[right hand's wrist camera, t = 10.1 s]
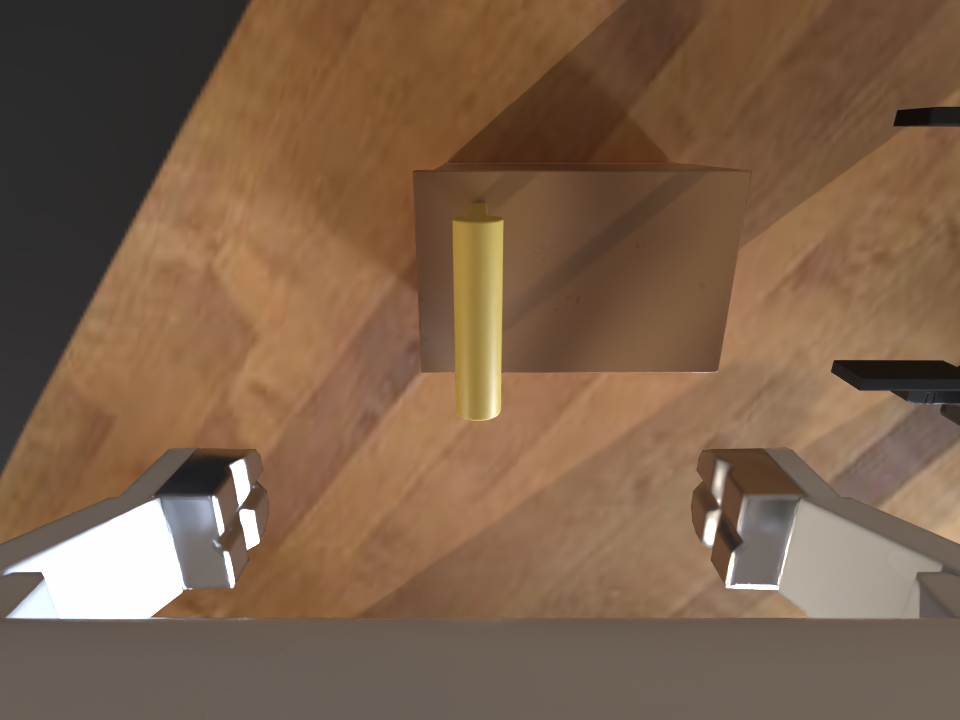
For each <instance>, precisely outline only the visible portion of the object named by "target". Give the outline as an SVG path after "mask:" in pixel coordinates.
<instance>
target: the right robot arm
mask: <svg viewBox="0 0 960 720" xmlns="http://www.w3.org/2000/svg"><path fill="white" fill-rule="evenodd" d="M262 472H263V466H262V461H261V456H260V454H259V453H258V452H257V450H256V449H221V448H202V449H201V448H174V449H168V450H167V451H166V452H165V453H164V454H163V455H162V456H161V457H160V458H159V459H158V460H157V461H156V462H155V463H154V464H153V465H152V466H151V467H150V468H149V469H148V470H147V471H146V472H145V473H144V474H142V475H141V476H140V477H139V478H138V479H137V480H136V481H135V482H134V483H133V484H132V485H131V486H130V487H129V488H128V489H127V490H126V491H125V492H124V493H123V494H122V495H121V496H120V497H115V498H107V499H105V500H103V501H100V502H98V503H96V504H93V505H91V506H88V507H86V508H84V509H81V510H79V511H77V512H74V513H72V514H70V515H67V516H65V517H63V518H60V519H58V520H56V521H53V522H51V523H49V524H46V525H44V526H42V527H39V528H37V529H35V530H32V531H30V532H28V533H25V534H23V535H21V536H18V537H16V538H14V539H11V540H9V541H7V542H4V543H2V544H0V720H960V544H958V543H956V542H953V541H951V540H949V539H946V538H944V537H942V536H939V535H937V534H934V533H932V532H930V531H927V530H925V529H923V528H920V527H918V526H916V525H913V524H911V523H909V522H906V521H904V520H902V519H899V518H897V517H895V516H892V515H890V514H888V513H885V512H883V511H881V510H878V509H876V508H874V507H871V506H869V505H867V504H864V503H862V502H860V501H857V500H855V499H853V498H845V497H840V496H839V495H838V494H837V493H836V492H835V491H834V490H833V489H832V488H831V487H830V486H829V485H828V484H827V483H826V482H825V481H824V480H823V479H822V478H821V477H820V476H819V475H818V474H817V473H816V472H815V471H814V470H812V469H811V468H810V467H809V466H808V465H807V464H806V463H805V462H804V461H803V460H802V459H801V458H800V457H799V456H798V455H797V454H796V453H795V452H794V451H793V450H791V449H788V448H785V447H784V448H753V449H712V450H702V452H701V454H700V457H699V459H698V465H697V472H698V473H699V475H700V476H701V478H702V479H703V481H702V482H701V483H700V484H699V486H698V487H697V488H696V489H695V490H694V491H693V496H692V504H691V511H692V522H693V525H694V528H695V532H696V534H697V536H698V538H699V540H700V541H701V543H703V544H704V545H706V546H707V547H709V548H711V549H712V556H711V561H712V563H713V565H714V567H715V568H716V570H717V572H718V574H719V575H720V577H721V579H722V581H723V582H724V584H725V586H726V588H749V589H778V590H777V592H779V593H780V594H781V595H782V596H784V597H785V598H786V599H788V600H789V601H790V602H792V603H793V604H794V605H795V606H797V607H798V608H799V609H801V610H802V611H803V612H805V613H806V614H807V615H808V616H810V617H811V618H149V617H150V616H152V615H153V614H154V613H156V612H157V611H158V610H159V609H161V608H162V607H163V606H165V605H166V604H167V603H169V602H170V601H171V600H173V599H174V598H175V597H176V596H178V595H179V594H180V593H182V589H210V588H234V586H235V584H236V583H237V581H238V579H239V577H240V575H241V574H242V572H243V570H244V568H245V567H246V565H247V563H248V561H249V556H248V549H249V548H251V547H253V546H254V545H256V544H257V543H259V541H260V540H261V538H262V536H263V534H264V532H265V529H266V524H267V520H268V516H269V502H268V495H267V491H266V490H265V489H264V488H263V487H262V486H261V485H260V483H259V482H258V481H257V479H258V478H259V476H260V475H261V473H262Z"/></svg>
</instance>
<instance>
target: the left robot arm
mask: <svg viewBox="0 0 960 720" xmlns="http://www.w3.org/2000/svg"><path fill="white" fill-rule="evenodd" d="M893 126H960V107H931V108H918V109H906V110H897V114H896V117H895V121H894V125H893ZM831 372H832V373H834V374H835V375H837V376H838V377H840V378H841V379H843V380H844V381H846V382H847V383H849V384H850V385H852V386H854V387H855V388H857V389H858V390H860V391H891V392H893V393H894V394H896V395H898V396H899V397H901V398H903V399H904V400H906V401H908V402H910V403H913V404H943V405H942V407H941V409H940V412H941V414H942V415H943V416H944V417H946V418H948V419H949V420H951V421H953V422H955V423H956V424H958V425H960V366H958V367H956V366H953V365H951V364H949V363H947V362H945V361H943V360H834V362H833V366H832V370H831Z"/></svg>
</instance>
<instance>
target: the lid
mask: <svg viewBox="0 0 960 720" xmlns="http://www.w3.org/2000/svg"><path fill="white" fill-rule="evenodd" d="M751 173H752V171H750V170H415V171H413V188H414V212H415V235H416V259H417V282H418V306H419V329H420V353H421V372H422V373H455V383H456V412H457V414H458V415H459V416H461V417H462V418H465V419H468V420H474V421H482V420H488V419H492V418H494V417H496V416H497V415H498V414H499V413H500V411H501V373H717V372H718V368H719V362H720V356H721V351H722V345H723V339H724V333H725V327H726V321H727V315H728V309H729V303H730V297H731V291H732V286H733V280H734V274H735V268H736V262H737V256H738V250H739V244H740V238H741V232H742V226H743V221H744V215H745V209H746V203H747V197H748V191H749V185H750V179H751Z"/></svg>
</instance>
